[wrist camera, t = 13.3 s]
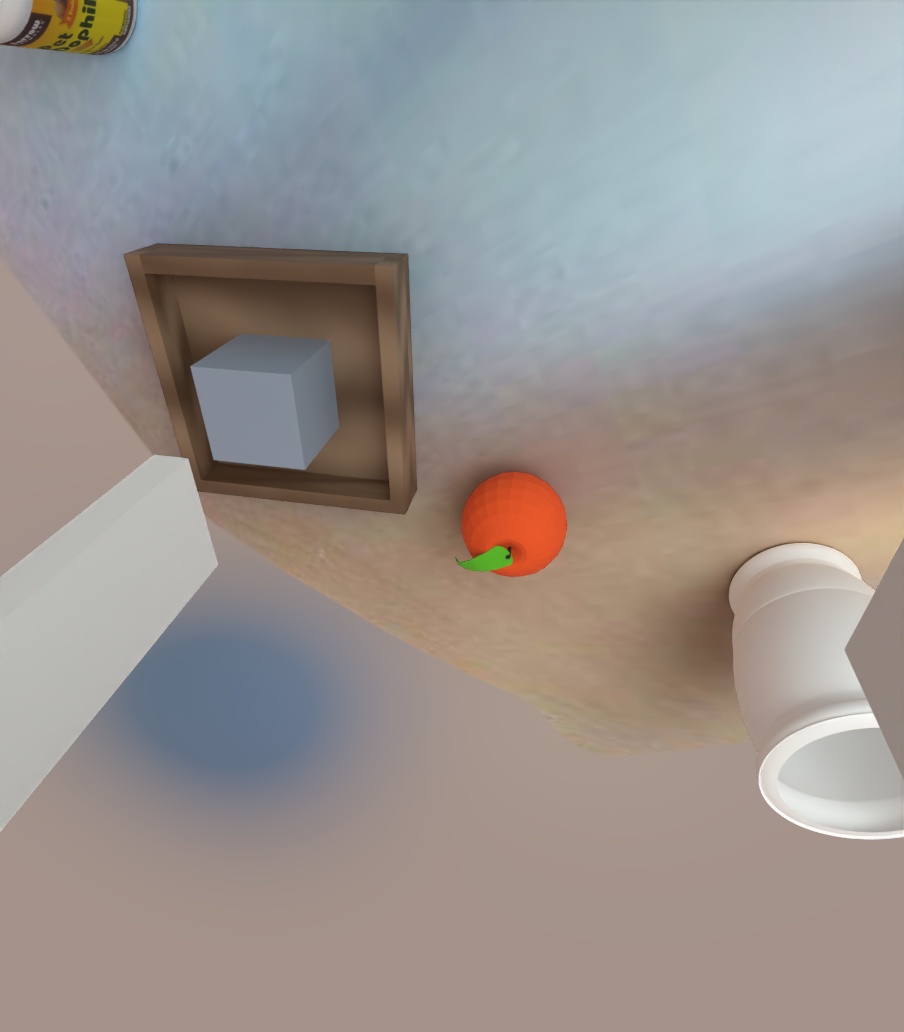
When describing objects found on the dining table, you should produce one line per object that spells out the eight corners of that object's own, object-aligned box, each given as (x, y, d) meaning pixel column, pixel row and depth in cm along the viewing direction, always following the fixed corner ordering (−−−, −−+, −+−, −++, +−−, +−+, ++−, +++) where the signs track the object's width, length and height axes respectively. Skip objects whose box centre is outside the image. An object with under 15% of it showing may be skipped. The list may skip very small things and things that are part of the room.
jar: (876, 635, 43) (987, 843, 31) (721, 649, 47) (766, 841, 34) (877, 514, 38) (1011, 707, 26) (703, 540, 41) (749, 721, 29)
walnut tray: (157, 243, 37) (123, 254, 34) (407, 253, 35) (392, 266, 32) (214, 468, 46) (191, 490, 43) (416, 489, 44) (405, 514, 41)
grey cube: (241, 333, 39) (190, 366, 34) (329, 339, 38) (290, 374, 33) (257, 418, 42) (213, 460, 37) (339, 426, 41) (305, 470, 36)
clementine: (491, 554, 46) (477, 618, 40) (440, 485, 43) (416, 543, 37) (587, 514, 42) (586, 579, 36) (537, 436, 39) (527, 492, 34)
